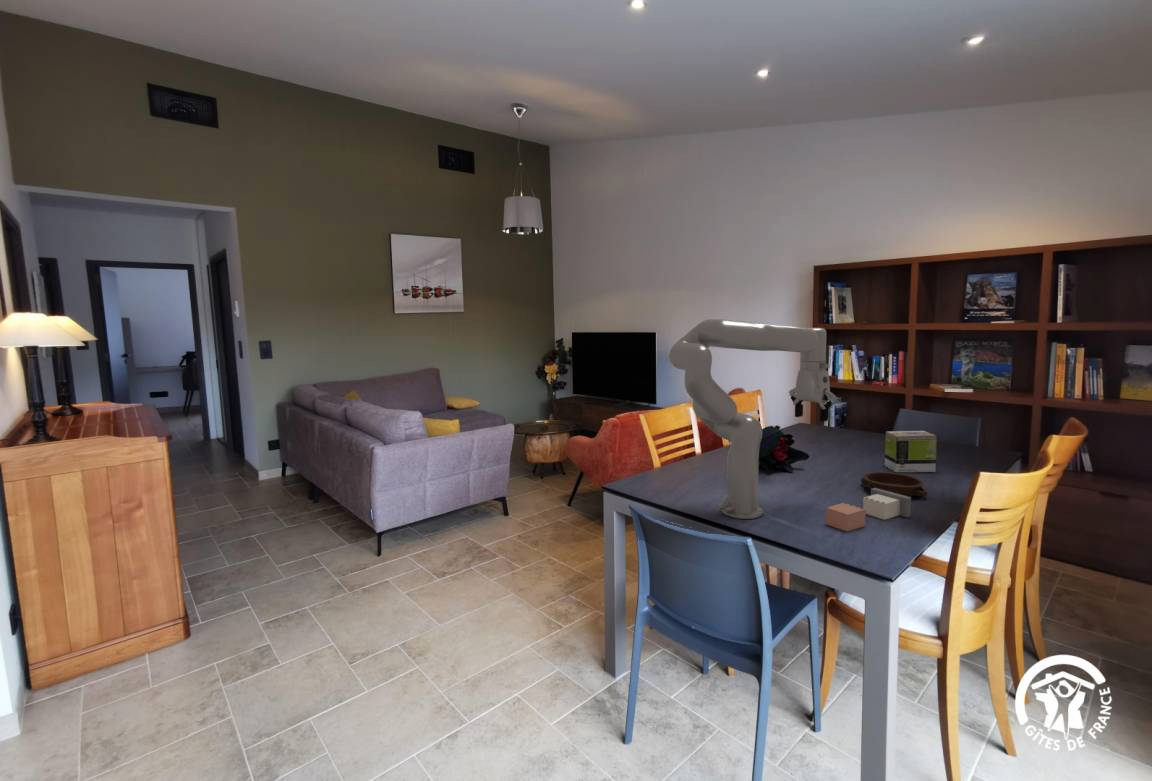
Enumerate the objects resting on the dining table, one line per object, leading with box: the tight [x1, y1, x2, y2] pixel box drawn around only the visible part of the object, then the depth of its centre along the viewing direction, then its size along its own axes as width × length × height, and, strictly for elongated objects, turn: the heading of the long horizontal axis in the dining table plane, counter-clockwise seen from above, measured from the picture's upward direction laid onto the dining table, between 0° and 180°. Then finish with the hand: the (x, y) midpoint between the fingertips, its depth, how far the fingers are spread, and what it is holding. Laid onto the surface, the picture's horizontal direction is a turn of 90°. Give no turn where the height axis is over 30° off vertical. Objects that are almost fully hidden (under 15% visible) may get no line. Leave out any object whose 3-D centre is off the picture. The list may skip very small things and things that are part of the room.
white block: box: [862, 488, 912, 521], centre depth 175 cm, size 12×12×6 cm
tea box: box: [884, 430, 938, 473], centre depth 224 cm, size 15×10×15 cm, turn 84°
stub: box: [825, 502, 866, 533], centre depth 166 cm, size 8×7×5 cm
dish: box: [860, 471, 928, 497], centre depth 198 cm, size 17×22×5 cm
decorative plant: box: [758, 424, 810, 474], centre depth 226 cm, size 21×26×30 cm
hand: (811, 418), depth 185 cm, fingers open, 9 cm apart
